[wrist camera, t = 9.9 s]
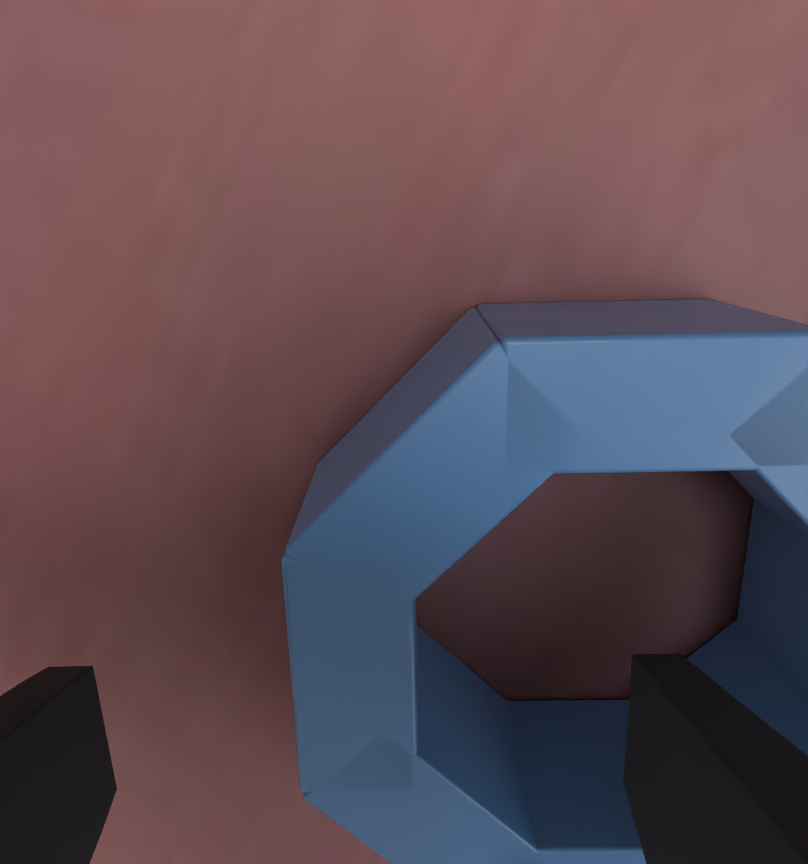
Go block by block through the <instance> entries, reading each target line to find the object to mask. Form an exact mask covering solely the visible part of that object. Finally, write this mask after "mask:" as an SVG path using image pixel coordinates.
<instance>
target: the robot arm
mask: <svg viewBox="0 0 808 864" xmlns="http://www.w3.org/2000/svg"><path fill="white" fill-rule="evenodd" d="M623 781H624V785H625V789H626V793H627V796H628V800H629V804H630V808H631V811H632V815H633V819H634V823H635V826H636V830H637V833H638V837H639V840H640V844H641V847H642V850H643V854H644V857H645V861H646V864H808V755H807V754H805V753H804V752H803V751H802V750H800V749H799V748H798V747H796V746H795V745H794V744H793V743H791V742H790V741H789V740H787V739H786V738H785V737H784V736H782V735H781V734H780V733H779V732H777V731H776V730H775V729H773V728H772V727H771V726H770V725H768V724H767V723H766V722H765V721H763V720H762V719H761V718H760V717H758V716H757V715H756V714H755V713H753V712H752V711H751V710H750V709H748V708H747V707H746V706H745V705H743V704H742V703H741V702H740V701H738V700H737V699H736V698H735V697H734V696H732V695H731V694H730V693H729V692H727V691H726V690H725V689H724V688H722V687H721V686H720V685H719V684H717V683H716V682H715V681H714V680H713V679H711V678H710V677H709V676H708V675H706V674H705V673H704V672H703V671H701V670H700V669H699V668H698V667H696V666H695V665H694V664H692V663H691V662H690V661H688V660H687V659H686V658H684V657H683V656H682V655H680V654H634V655H632V667H631V681H630V694H629V708H628V722H627V736H626V750H625V764H624V778H623ZM116 790H117V787H116V782H115V777H114V772H113V767H112V762H111V757H110V752H109V746H108V741H107V736H106V731H105V726H104V721H103V716H102V711H101V706H100V700H99V695H98V690H97V685H96V680H95V675H94V670H93V666H70V667H47V668H46V669H44V670H42V671H40V672H39V673H37V674H35V675H33V676H32V677H30V678H28V679H27V680H25V681H23V682H22V683H20V684H18V685H17V686H15V687H14V688H12V689H11V690H9V691H7V692H6V693H4V694H3V695H1V696H0V864H89V863H90V861H91V858H92V856H93V853H94V850H95V848H96V845H97V843H98V840H99V838H100V835H101V832H102V830H103V827H104V824H105V821H106V818H107V815H108V813H109V810H110V807H111V804H112V801H113V798H114V796H115V793H116Z"/></svg>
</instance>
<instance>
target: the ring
mask: <svg viewBox="0 0 808 864" xmlns="http://www.w3.org/2000/svg"><path fill="white" fill-rule="evenodd" d="M675 471H728V472H729V473H730V474H731V475H732V476H733V477H734V478H735V479H736V480H737V481H738V482H739V483H740V484H741V485H742V486H743V487H744V488H745V489H746V490H747V491H748V492H749V493H750V495H751V496H752V497H753V498H754V502H753V509H752V516H751V523H750V531H749V538H748V545H747V552H746V559H745V566H744V573H743V581H742V588H741V595H740V602H739V609H738V616H737V619H736V620H735V621H734V622H733V623H731V624H730V625H729V626H727V627H726V628H725V629H724V630H722V631H721V632H720V633H719V634H717V635H716V636H715V637H713V638H712V639H711V640H710V641H708V642H707V643H706V644H705V645H703V646H702V647H701V648H699V649H698V650H697V651H696V652H694V653H693V654H692V655H691V656H689V657H688V658H687V660H688V661H690V662H691V663H692V664H694V665H695V666H696V667H698V668H699V669H700V670H701V671H703V672H704V673H705V674H706V675H708V676H709V677H710V678H711V679H713V680H714V681H715V682H716V683H717V684H719V685H720V686H721V687H722V688H724V689H725V690H726V691H727V692H729V693H730V694H731V695H732V696H734V697H735V698H736V699H737V700H738V701H740V702H741V703H742V704H743V705H745V706H746V707H747V708H748V709H750V710H751V711H752V712H753V713H755V714H756V715H757V716H758V717H760V718H761V719H762V720H763V721H765V722H766V723H767V724H768V725H770V726H771V727H772V728H773V729H775V730H776V731H777V732H779V733H780V734H781V735H782V736H784V737H785V738H786V739H787V740H789V741H790V742H791V743H793V744H794V745H795V746H796V747H798V748H799V749H800V750H802V751H803V752H804V753H805V754H807V755H808V325H806V324H802V323H799V322H795V321H791V320H787V319H784V318H780V317H776V316H773V315H769V314H765V313H761V312H758V311H754V310H750V309H746V308H743V307H739V306H735V305H732V304H728V303H724V302H720V301H717V300H713V299H679V300H630V301H582V302H534V303H485V304H479V305H477V308H474V307H472V308H470V309H469V310H468V311H467V312H466V313H465V314H464V315H463V316H462V317H461V318H460V319H459V320H458V321H457V322H456V323H455V324H454V325H453V326H452V327H451V328H450V329H449V330H448V331H447V332H446V333H445V334H444V335H443V336H442V337H441V338H440V339H439V340H438V341H437V342H436V343H435V344H434V345H433V346H432V347H431V348H430V349H429V350H428V351H427V352H426V353H425V354H424V355H423V356H422V357H421V359H420V360H419V361H418V362H417V363H416V364H415V365H414V366H413V367H412V368H411V369H410V370H409V371H408V372H407V373H406V374H405V375H404V376H403V377H402V378H401V379H400V380H399V381H398V382H397V383H396V384H395V385H394V386H393V387H392V388H391V389H390V390H389V391H388V392H387V393H386V394H385V395H384V396H383V397H382V398H381V399H380V400H379V401H378V402H377V403H376V404H375V405H374V406H373V408H372V409H371V410H370V411H369V412H368V413H367V414H366V415H365V416H364V417H363V418H362V419H361V420H360V421H359V422H358V423H357V424H356V425H355V426H354V427H353V428H352V429H351V430H350V431H349V432H348V433H347V434H346V435H345V436H344V437H343V438H342V439H341V440H340V441H339V442H338V443H337V444H336V445H335V446H334V447H333V448H332V449H331V450H330V451H329V452H328V453H327V454H326V455H325V457H324V458H323V459H322V460H321V461H320V462H319V463H318V465H317V468H316V470H315V473H314V475H313V478H312V481H311V483H310V486H309V488H308V491H307V494H306V496H305V499H304V501H303V504H302V507H301V509H300V512H299V514H298V517H297V520H296V522H295V525H294V527H293V530H292V533H291V535H290V538H289V540H288V543H287V546H286V548H285V551H284V554H283V557H282V559H281V565H282V577H283V589H284V601H285V613H286V625H287V637H288V649H289V661H290V673H291V685H292V697H293V708H294V720H295V732H296V744H297V756H298V768H299V780H300V788H301V790H302V792H304V793H303V797H304V799H305V800H306V801H308V802H309V803H311V804H312V805H313V806H315V807H316V808H317V809H319V810H320V811H321V812H323V813H324V814H325V815H327V816H328V817H329V818H331V819H332V820H333V821H335V822H336V823H337V824H339V825H340V826H342V827H343V828H344V829H346V830H347V831H348V832H350V833H351V834H352V835H354V836H355V837H356V838H358V839H359V840H360V841H362V842H363V843H364V844H366V845H367V846H369V847H370V848H371V849H373V850H374V851H375V852H377V853H378V854H379V855H381V856H382V857H383V858H385V859H386V860H387V861H389V862H390V863H391V864H646V861H645V857H644V854H643V850H642V847H641V844H640V840H639V837H638V833H637V830H636V826H635V823H634V819H633V815H632V811H631V808H630V804H629V800H628V796H627V793H626V789H625V785H624V781H623V778H624V764H625V750H626V736H627V722H628V708H629V700H547V701H507V700H506V699H505V698H503V697H502V696H501V695H500V694H499V693H498V692H496V691H495V690H494V689H493V688H492V687H490V686H489V685H488V684H487V683H486V682H484V681H483V680H482V679H481V678H480V677H479V676H477V675H476V674H475V673H474V672H473V671H471V670H470V669H469V668H468V667H467V666H466V665H464V664H463V663H462V662H461V661H460V660H458V659H457V658H456V657H455V656H454V655H453V654H451V653H450V652H449V651H448V650H447V649H445V648H444V647H443V646H442V645H441V644H440V643H438V642H437V641H436V640H435V639H434V638H432V637H431V636H430V635H429V634H428V633H427V632H425V631H424V630H423V629H422V628H421V627H419V626H418V625H417V624H416V598H417V597H418V596H419V595H420V594H422V593H423V592H424V591H425V590H426V589H427V588H428V587H429V586H430V585H431V584H432V583H434V582H435V581H436V580H437V579H438V578H439V577H440V576H441V575H442V574H443V573H445V572H446V571H447V570H448V569H449V568H450V567H451V566H452V565H453V564H454V563H456V562H457V561H458V560H459V559H460V558H461V557H462V556H463V555H464V554H465V553H467V552H468V551H469V550H470V549H471V548H472V547H473V546H474V545H475V544H476V543H477V542H479V541H480V540H481V539H482V538H483V537H484V536H485V535H486V534H487V533H488V532H490V531H491V530H492V529H493V528H494V527H495V526H496V525H497V524H498V523H499V522H501V521H502V520H503V519H504V518H505V517H506V516H507V515H508V514H509V513H510V512H512V511H513V510H514V509H515V508H516V507H517V506H518V505H519V504H520V503H521V502H522V501H524V500H525V499H526V498H527V497H528V496H529V495H530V494H531V493H532V492H533V491H535V490H536V489H537V488H538V487H539V486H540V485H541V484H542V483H543V482H544V481H546V480H547V479H548V478H549V477H550V476H551V475H552V474H553V473H614V472H675Z"/></svg>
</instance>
